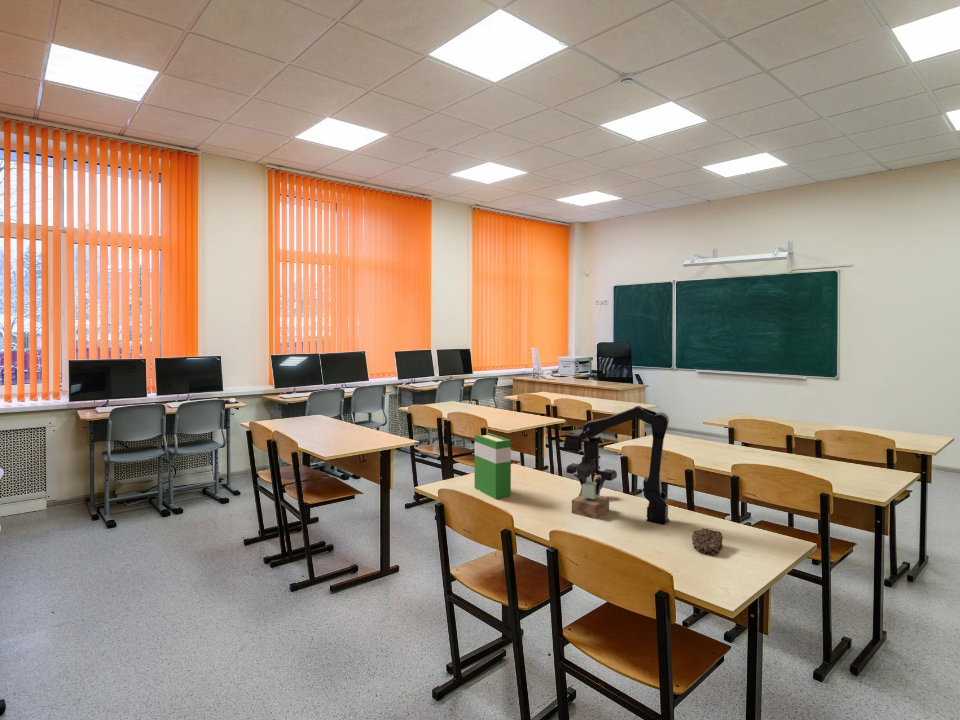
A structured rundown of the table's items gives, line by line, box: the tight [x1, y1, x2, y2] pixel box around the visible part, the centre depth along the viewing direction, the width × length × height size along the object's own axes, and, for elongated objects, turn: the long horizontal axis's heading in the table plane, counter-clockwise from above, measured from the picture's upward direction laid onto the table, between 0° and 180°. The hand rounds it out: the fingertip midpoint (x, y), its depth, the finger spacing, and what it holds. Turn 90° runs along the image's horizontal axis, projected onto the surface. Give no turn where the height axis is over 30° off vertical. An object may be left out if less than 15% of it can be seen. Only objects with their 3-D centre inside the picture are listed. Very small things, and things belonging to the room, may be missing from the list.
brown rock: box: [690, 528, 724, 556], centre depth 167 cm, size 12×10×5 cm
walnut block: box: [571, 495, 610, 520], centre depth 201 cm, size 10×12×5 cm
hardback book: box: [474, 432, 512, 500], centre depth 224 cm, size 18×7×24 cm, turn 30°
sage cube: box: [581, 480, 601, 499], centre depth 201 cm, size 5×5×5 cm
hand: (590, 493), depth 201 cm, fingers closed on sage cube, 5 cm apart
